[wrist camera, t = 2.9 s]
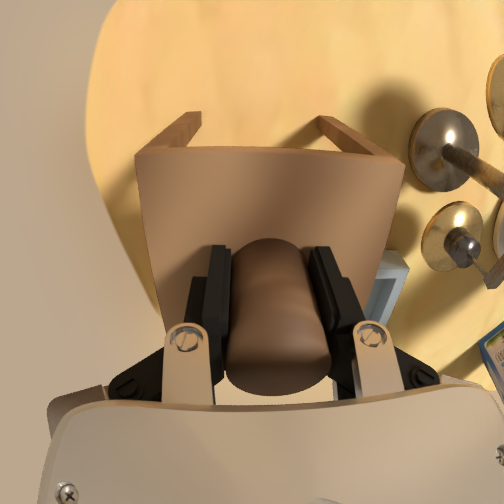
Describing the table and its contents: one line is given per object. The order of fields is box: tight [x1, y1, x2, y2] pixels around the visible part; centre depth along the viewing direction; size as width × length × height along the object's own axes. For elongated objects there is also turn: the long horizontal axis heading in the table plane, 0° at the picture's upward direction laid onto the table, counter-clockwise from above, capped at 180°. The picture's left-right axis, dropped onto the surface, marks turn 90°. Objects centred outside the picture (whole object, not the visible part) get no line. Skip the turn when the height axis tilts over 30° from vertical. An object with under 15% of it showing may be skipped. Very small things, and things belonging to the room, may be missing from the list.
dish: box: [363, 250, 410, 327], centre depth 27 cm, size 10×10×3 cm
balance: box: [409, 54, 504, 289], centre depth 14 cm, size 7×18×14 cm, turn 178°
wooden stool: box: [134, 111, 406, 396], centre depth 15 cm, size 10×10×16 cm
